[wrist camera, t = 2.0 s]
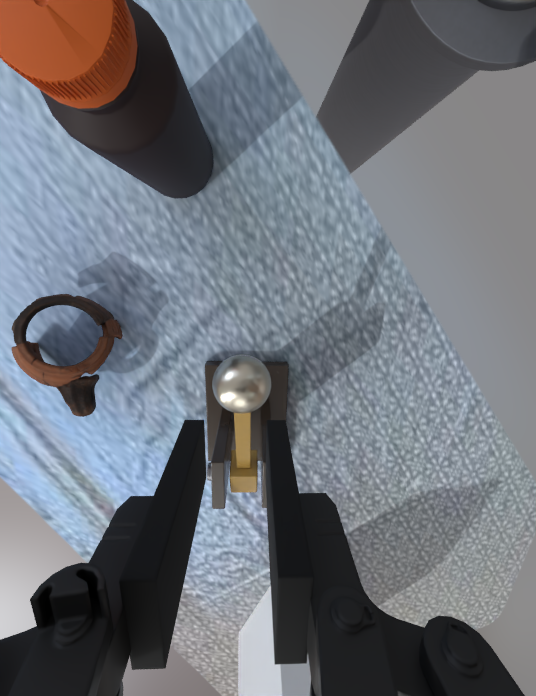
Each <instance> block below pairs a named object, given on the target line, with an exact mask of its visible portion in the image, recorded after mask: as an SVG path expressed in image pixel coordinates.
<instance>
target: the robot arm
mask: <svg viewBox="0 0 536 696" xmlns="http://www.w3.org/2000/svg"><path fill="white" fill-rule="evenodd" d="M478 1H479V2H481V3H482V4H484V5H486V6H489V7H492V8H494V9H499V10H504V11H519V10H525V9H529V8H532V7H536V0H478ZM265 477H266V498H267V518H268V539H269V559H270V579H271V600H272V620H273V641H274V661H275V665H277V664H306V663H307V654H308V659H309V666H310V674H311V684H310V695H309V696H525V695H524V694H523V693H522V691H521V690H520V688H519V687H518V685H517V684H516V682H515V681H514V680H513V678H512V677H511V675H510V674H509V672H508V671H507V669H506V668H505V667H504V665H503V664H502V662H501V661H500V660H499V658H498V656H497V655H496V653H495V652H494V651H493V649H492V648H491V646H490V645H489V644H488V643H487V642H486V641H485V640H484V638H483V637H482V636H481V635H480V634H479V633H478V632H477V631H475V630H474V629H473V628H471V627H470V626H469V625H467V624H466V623H465V622H462V621H460V620H458V619H455V618H453V617H448V616H437V617H435V618H433V619H431V620H429V621H428V623H427V625H426V626H425V628H424V627H420V626H417V625H414V624H411V623H408V622H405V621H402V620H399V619H396V618H394V617H392V616H390V615H388V614H386V613H385V612H383V611H382V610H380V609H379V608H378V607H377V606H376V605H375V604H374V603H373V602H372V601H371V600H370V599H369V597H368V596H367V595H366V593H365V592H364V589H363V587H362V585H361V582H360V579H359V576H358V573H357V570H356V567H355V564H354V560H353V557H352V554H351V551H350V548H349V545H348V542H347V539H346V536H345V534H344V529H343V526H342V523H341V521H340V517H339V514H338V511H337V507H336V505H335V504H334V503H333V501H332V500H331V499H330V498H329V497H328V495H327V494H326V493H299V491H298V486H297V481H296V475H295V470H294V464H293V459H292V453H291V448H290V442H289V437H288V431H287V426H286V421H285V420H267V433H266V475H265ZM205 480H206V458H205V433H204V420H185V421H184V424H183V426H182V429H181V431H180V433H179V436H178V438H177V441H176V443H175V446H174V448H173V450H172V453H171V455H170V458H169V460H168V463H167V465H166V467H165V470H164V472H163V475H162V477H161V480H160V482H159V484H158V487H157V489H156V492H155V494H154V496H131V497H130V498H129V499H127V500H126V501H125V502H124V503H123V504H122V505H121V506H120V507H119V508H118V509H117V511H116V513H115V514H114V516H113V518H112V520H111V522H110V524H109V527H108V528H107V530H106V531H105V533H104V535H103V537H102V540H101V541H100V543H99V545H98V546H97V548H96V550H95V552H94V554H93V556H92V558H91V560H90V561H89V563H78V564H75V565H71V566H68V567H65V568H64V569H62V570H60V571H58V572H57V573H55V574H53V575H52V576H50V578H48V579H47V580H46V581H45V582H44V583H43V584H41V585H40V586H39V588H38V589H37V590H36V592H35V593H34V595H33V596H32V598H31V599H30V601H31V605H32V608H33V613H34V617H35V620H36V624H37V626H36V627H34V628H32V629H29V630H27V631H25V632H22V633H19V634H16V635H13V636H10V637H8V638H4V639H2V640H0V696H123V682H122V679H123V675H124V672H125V669H126V666H127V662H128V659H129V656H130V659H131V666H132V669H133V670H135V669H163V668H166V663H167V658H168V653H169V649H170V644H171V640H172V635H173V630H174V626H175V621H176V616H177V612H178V607H179V602H180V598H181V593H182V588H183V584H184V579H185V574H186V569H187V565H188V560H189V555H190V551H191V546H192V541H193V537H194V532H195V527H196V523H197V518H198V513H199V509H200V504H201V499H202V495H203V490H204V485H205Z"/></svg>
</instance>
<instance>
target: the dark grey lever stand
mask: <svg viewBox="0 0 536 696" xmlns="http://www.w3.org/2000/svg"><path fill="white" fill-rule="evenodd" d="M222 362H223V361H207V362H206V364H205V381H206V408H207V436H208V461H211V463H209V464H208V470H207V479H208V480H212V508H213V509H224V508H225V503H226V494H227V485H228V477H229V468H230V461H231V451H232V450H236V441H235V423H234V412H231V411H229V410H227V409H225V408H224V407H223V406H221V405H220V403H219V402H218V401H217V399H216V397H215V395H214V392H213V387H212V382H213V376H214V373H215V371H216V369H217V368H218V366H219V365H220V364H221V363H222ZM262 363H263V364H264V365H265V366H266V368H267V370H268V372H269V374H270V378H271V390H270V394H269V396H268V398H267V400H266V401H265V403H264V404H263V405H262V406H261V407H259V408H258V409H256V410H255V411H252V412H251V450H257V461H261V491H262V508H267V498H266V477H265V475H266V433H267V420H285V421H286V412H287V389H288V363H287V362H262Z"/></svg>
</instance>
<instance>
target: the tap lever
mask: <svg viewBox="0 0 536 696" xmlns="http://www.w3.org/2000/svg"><path fill="white" fill-rule="evenodd" d="M212 387H213V392H214V395H215V397H216V399H217V401H218V402H219V403H220V405H221V406H223V407H224V408H225V409H227V410H229V411H231V412H234V423H235V441H236V450H232V451H231V463H230V486H231V492H257V450H251V412H252V411H255V410H256V409H258V408H259V407H261V406H262V405H263V404H264V403H265V401H266V400H267V398H268V396H269V394H270V390H271V378H270V374H269V372H268V370H267V368H266V366H265V365H264V364H263V363H262V362H261V361H260V360H258V359H257V358H255V357H252V356H249V355H235V356H232V357H229V358H227V359H226V360H224V361H223V362H222V363H221V364H220V365H219V366H218V368H217V369H216V371H215V373H214V376H213V382H212Z"/></svg>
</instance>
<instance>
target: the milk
mask: <svg viewBox="0 0 536 696" xmlns="http://www.w3.org/2000/svg"><path fill="white" fill-rule="evenodd" d="M310 684H311V674H310V666H309V659H308V654H307V663H306V664H277V665H275V661H274V641H273V620H272V600H271V585H270V586H269V588H268V589H267V591H266V592H265V594H264V595H263V597H262V598H261V600H260V601H259V603H258V604H257V606H256V607H255V609H254V611H253V612H252V614H251V615H250V617H249V618H248V620H247V621H246V623H245V624H244V626H243V627H242V629H241V630H240V632H239V679H238V696H309V695H310Z"/></svg>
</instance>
